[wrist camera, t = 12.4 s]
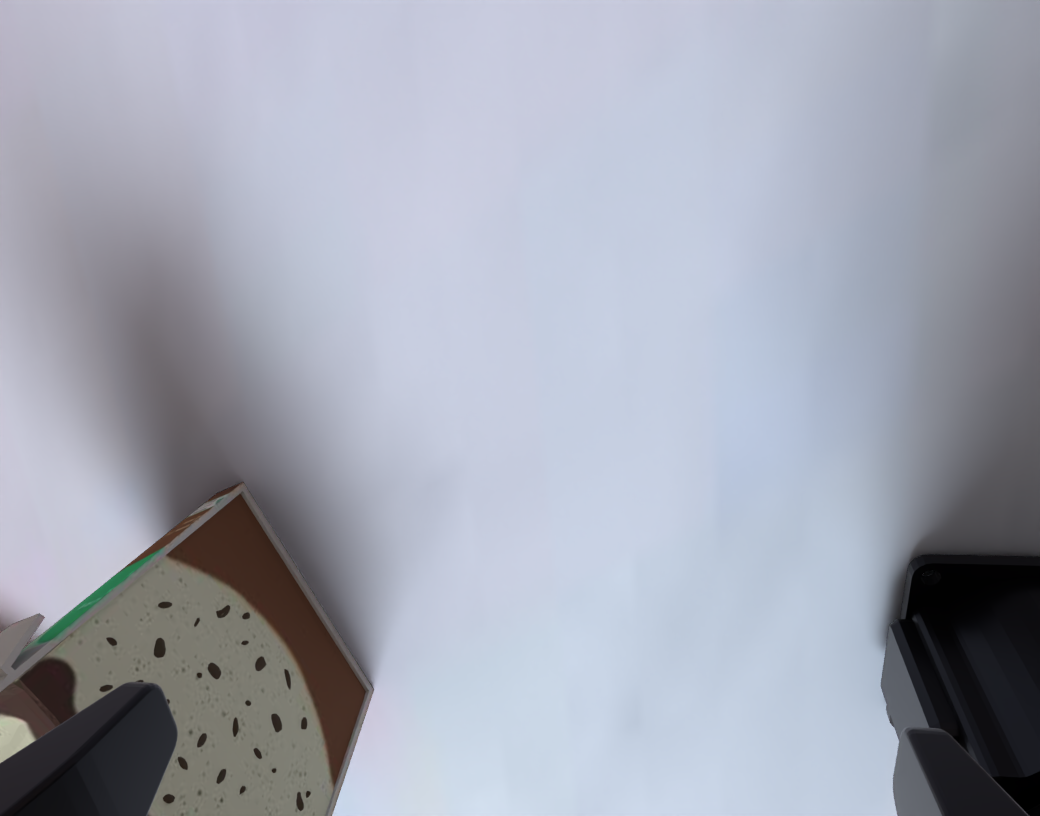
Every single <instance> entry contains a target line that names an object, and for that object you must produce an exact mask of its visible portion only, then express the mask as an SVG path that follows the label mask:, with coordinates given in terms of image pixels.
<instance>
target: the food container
mask: <svg viewBox="0 0 1040 816" xmlns="http://www.w3.org/2000/svg"><path fill="white" fill-rule="evenodd" d="M44 618H45V617H44V616H43V615H41V614H40V613H39V614H36V615H34V616H31V617H29V618H26V619H24V620H21V621H19V622H17V623H14V624H12V625H11V626H9V627H8V628H6V629H5V630H3V631H2V632H0V763H1V762H3V761H4V760H6V759H7V758H9V757H10V756H12V755H14V754H15V753H17V752H18V751H20V750H21V749H23V748H24V747H26V746H27V745H29V744H31V743H32V742H34V741H35V740H37V739H38V738H40V737H41V736H43V735H45V734H46V733H48V732H49V731H51V730H52V729H54V728H55V727H57V726H58V725H60V724H62V723H63V722H65V721H66V720H68V719H69V718H71V717H72V716H74V715H75V714H77V713H79V712H80V711H82V710H83V709H85V708H86V707H88V706H89V705H91V704H93V703H94V702H96V701H97V700H99V699H100V698H102V697H103V696H105V695H106V694H108V693H110V692H111V691H113V690H114V689H116V688H117V687H119V686H121V685H122V684H125V683H127V682H147V683H155V684H157V685H159V686H160V687H161V688H162V690H163V692H164V694H165V697H166V699H167V702H168V704H169V707H170V710H171V712H172V715H173V717H174V720H175V722H176V725H177V729H178V737H177V743H176V747H175V750H174V752H173V755H172V757H171V759H170V762H169V764H168V767H167V769H166V771H165V774H164V776H163V779H162V781H161V783H160V786H159V788H158V791H157V793H156V795H155V798H154V800H153V803H152V805H151V808H150V810H149V812H148V815H147V816H332V814H333V811H334V808H335V805H336V802H337V799H338V796H339V793H340V790H341V787H342V784H343V781H344V778H345V775H346V772H347V769H348V766H349V763H350V760H351V757H352V754H353V751H354V748H355V745H356V742H357V739H358V736H359V733H360V730H361V727H362V724H363V721H364V718H365V715H366V712H367V709H368V706H369V703H370V700H371V697H372V694H373V691H374V689H373V688H372V686H371V685H370V683H369V682H368V680H367V678H366V677H365V675H364V674H363V672H362V670H361V669H360V667H359V666H358V664H357V662H356V661H355V659H354V658H353V656H352V654H351V653H350V651H349V650H348V648H347V646H346V645H345V643H344V642H343V640H342V639H341V637H340V635H339V634H338V632H337V631H336V629H335V627H334V626H333V624H332V623H331V621H330V619H329V618H328V616H327V615H326V613H325V611H324V610H323V608H322V607H321V605H320V604H319V602H318V600H317V599H316V597H315V596H314V594H313V592H312V591H311V589H310V588H309V586H308V584H307V583H306V581H305V580H304V578H303V576H302V575H301V573H300V572H299V570H298V569H297V567H296V565H295V564H294V562H293V561H292V559H291V557H290V556H289V554H288V553H287V551H286V549H285V548H284V546H283V545H282V543H281V541H280V540H279V538H278V537H277V535H276V534H275V532H274V530H273V529H272V527H271V526H270V524H269V522H268V521H267V519H266V518H265V516H264V514H263V513H262V511H261V510H260V508H259V506H258V505H257V503H256V502H255V500H254V499H253V497H252V495H251V494H250V492H249V491H248V489H247V487H246V486H245V484H244V483H243V482H242V483H239V484H237V485H235V486H232V487H230V488H228V489H226V490H223V491H221V492H219V493H217V494H215V495H214V496H213V497H212V498H210V499H209V500H208V501H207V502H205V503H204V504H203V505H202V506H200V507H199V508H198V509H197V510H195V511H194V512H193V513H192V514H190V515H189V516H188V517H187V518H185V519H184V520H183V521H182V522H180V523H179V524H178V525H177V526H176V527H174V528H173V529H172V530H171V531H169V532H168V533H167V534H166V535H164V536H163V537H162V538H161V539H159V540H158V541H157V542H156V543H154V544H153V545H152V546H151V547H149V548H148V549H147V550H146V551H144V552H143V553H142V554H141V555H139V556H138V557H137V558H136V559H135V560H133V561H132V562H131V563H130V564H128V565H127V566H126V567H125V568H123V569H122V570H121V571H120V572H118V573H117V574H116V575H115V576H113V577H112V578H111V579H110V580H108V581H107V582H106V583H105V584H103V585H102V586H101V587H100V588H99V589H97V590H96V591H95V592H94V593H92V594H91V595H90V596H89V597H87V598H86V599H85V600H84V601H82V602H81V603H80V604H79V605H77V606H76V607H75V608H74V609H72V610H71V611H70V612H69V613H67V614H66V615H65V616H64V617H62V618H61V619H60V620H59V621H58V622H56V623H55V624H54V625H53V626H51V627H50V628H49V629H48V630H46V631H45V632H44V633H43V634H41V635H40V636H39V637H38V638H36V639H35V640H34V641H33V642H31V643H30V644H29V645H28V646H26V647H25V645H26V644H27V643H28V641H29V640H30V638H31V637H32V635H33V634H34V632H35V631H36V629H37V628H38V627H39V625H40V624H41V622H42V621H43V619H44ZM24 647H25V648H24ZM23 648H24V649H23Z"/></svg>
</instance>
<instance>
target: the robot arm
mask: <svg viewBox="0 0 1040 816" xmlns="http://www.w3.org/2000/svg"><path fill="white" fill-rule="evenodd" d="M931 570H933V571H935V573H933V574H932V575H929V576H923V573H925V572H926V571H931ZM881 689H882V692H883V695H884V698H885V701H886V704H887V706H886V710H887V715H888V718H889V721H890V723H891V724H892V726H893V727H895V730H896V733H897V736H898V739H899V746H898V752H897V758H896V764H895V769H894V775H893V793H894V800H895V806H896V811H897V815H898V816H1040V557H1023V556H976V555H921V556H919V557H917V558H915V559H914V560H913V561H912V562H911V563H910V564H909V567H908V570H907V577H906V583H905V590H904V596H903V603H902V609H901V616H900V619H895V620H894V621H893V623H892V624H891V625H890V626H889V631H888V638H887V645H886V651H885V658H884V665H883V672H882V678H881ZM177 737H178V729H177V725H176V722H175V720H174V717H173V715H172V712H171V710H170V707H169V704H168V702H167V699H166V697H165V694H164V692H163V690H162V688H161V687H160V686H159V685H157V684H155V683H147V682H127V683H125V684H122V685H121V686H119V687H117V688H116V689H114V690H113V691H111V692H110V693H108V694H106V695H105V696H103V697H102V698H100V699H99V700H97V701H96V702H94V703H93V704H91V705H89V706H88V707H86V708H85V709H83V710H82V711H80V712H79V713H77V714H75V715H74V716H72V717H71V718H69V719H68V720H66V721H65V722H63V723H62V724H60V725H58V726H57V727H55V728H54V729H52V730H51V731H49V732H48V733H46V734H45V735H43V736H41V737H40V738H38V739H37V740H35V741H34V742H32V743H31V744H29V745H27V746H26V747H24V748H23V749H21V750H20V751H18V752H17V753H15V754H14V755H12V756H10V757H9V758H7V759H6V760H4V761H3V762H1V763H0V816H147V815H148V812H149V810H150V808H151V805H152V803H153V800H154V798H155V795H156V793H157V791H158V788H159V786H160V783H161V781H162V779H163V776H164V774H165V771H166V769H167V767H168V764H169V762H170V759H171V757H172V755H173V752H174V750H175V747H176V743H177Z"/></svg>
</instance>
